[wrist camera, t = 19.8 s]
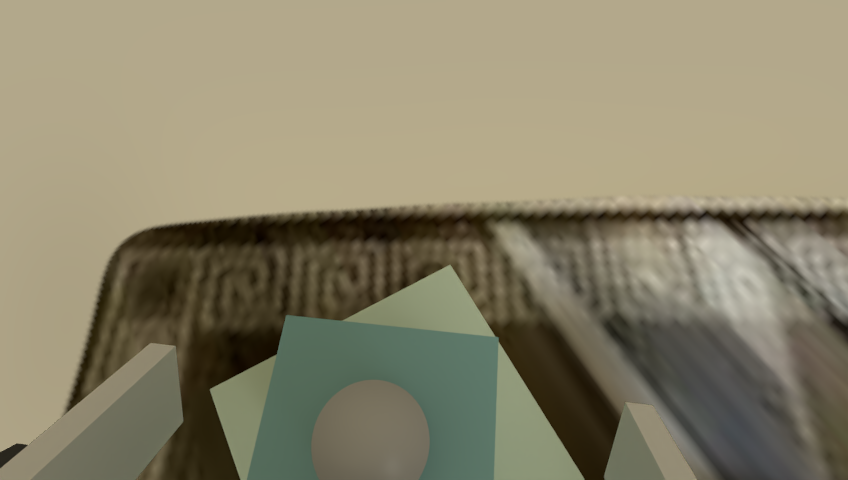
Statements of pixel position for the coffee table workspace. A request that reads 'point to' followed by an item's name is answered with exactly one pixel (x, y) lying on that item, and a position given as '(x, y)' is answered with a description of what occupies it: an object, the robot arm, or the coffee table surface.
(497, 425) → the pad
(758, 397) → the coffee table surface
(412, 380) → the teal tall block
